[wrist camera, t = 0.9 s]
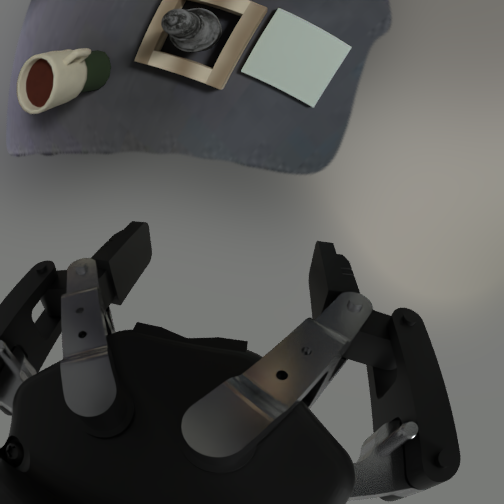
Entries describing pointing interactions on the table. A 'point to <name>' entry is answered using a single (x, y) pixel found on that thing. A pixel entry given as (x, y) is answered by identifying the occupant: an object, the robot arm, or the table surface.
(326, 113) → the table surface
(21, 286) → the robot arm
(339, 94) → the table surface
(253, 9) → the beige square frame
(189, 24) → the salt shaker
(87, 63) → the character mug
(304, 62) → the coaster
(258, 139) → the table surface
